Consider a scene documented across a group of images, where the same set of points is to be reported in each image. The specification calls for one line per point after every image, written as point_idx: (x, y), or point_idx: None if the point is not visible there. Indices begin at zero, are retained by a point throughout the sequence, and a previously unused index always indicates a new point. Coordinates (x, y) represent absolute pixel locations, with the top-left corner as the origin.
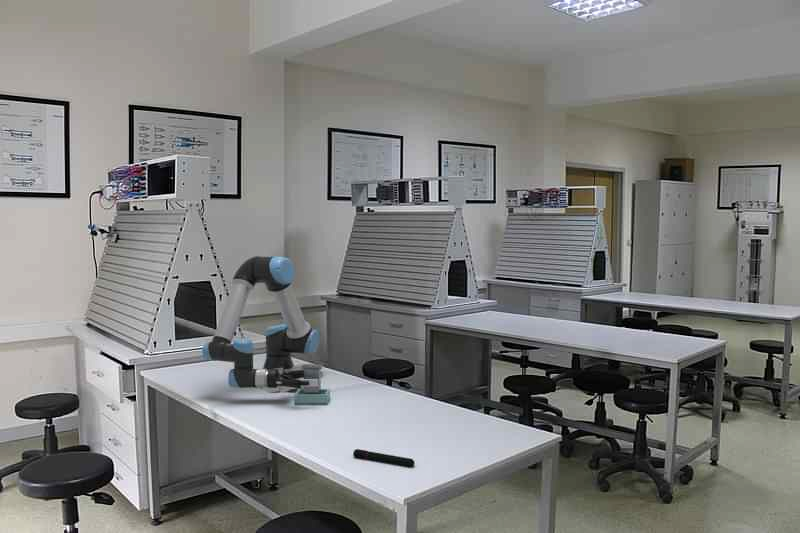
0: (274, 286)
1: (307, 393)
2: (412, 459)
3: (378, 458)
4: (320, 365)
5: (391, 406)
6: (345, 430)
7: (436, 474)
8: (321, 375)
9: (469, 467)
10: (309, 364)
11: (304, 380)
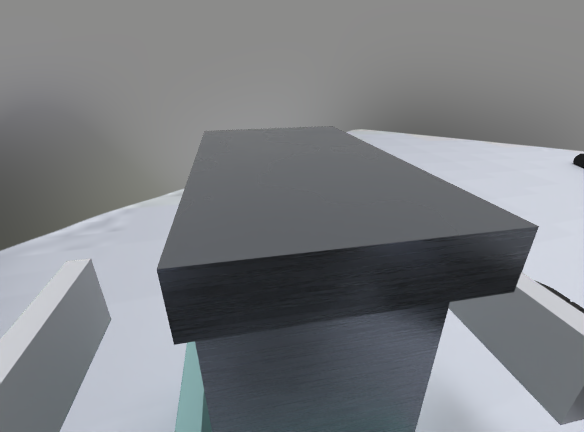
0: None
1: None
2: (580, 154)
3: None
4: (270, 132)
5: None
6: (563, 234)
7: (567, 154)
8: (99, 308)
9: (510, 145)
10: (209, 181)
11: (567, 316)
